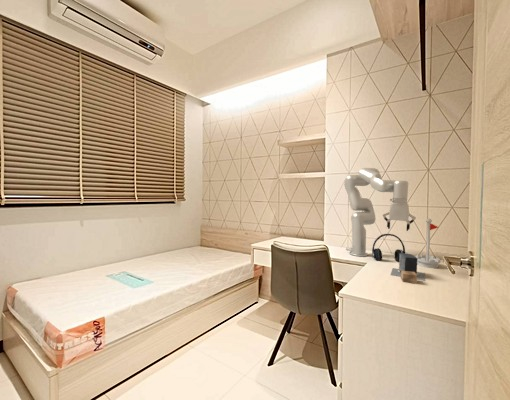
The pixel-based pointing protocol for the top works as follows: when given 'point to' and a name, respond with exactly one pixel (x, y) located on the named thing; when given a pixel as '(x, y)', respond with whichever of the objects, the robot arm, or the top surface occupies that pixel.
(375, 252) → the headphones
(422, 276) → the letter board
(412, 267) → the small box
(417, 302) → the top surface
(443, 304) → the top surface
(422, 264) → the marker stand
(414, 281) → the walnut block
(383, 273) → the top surface
